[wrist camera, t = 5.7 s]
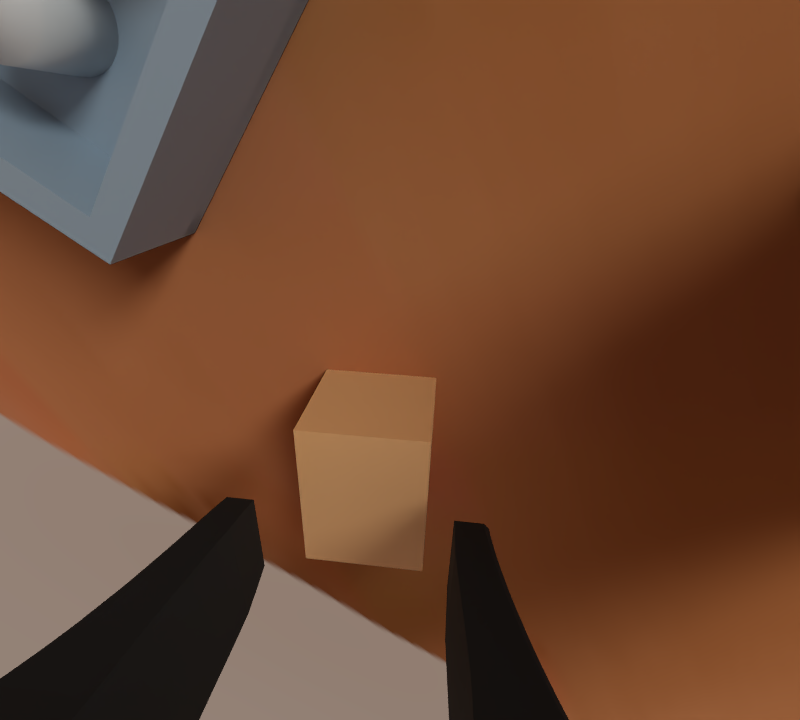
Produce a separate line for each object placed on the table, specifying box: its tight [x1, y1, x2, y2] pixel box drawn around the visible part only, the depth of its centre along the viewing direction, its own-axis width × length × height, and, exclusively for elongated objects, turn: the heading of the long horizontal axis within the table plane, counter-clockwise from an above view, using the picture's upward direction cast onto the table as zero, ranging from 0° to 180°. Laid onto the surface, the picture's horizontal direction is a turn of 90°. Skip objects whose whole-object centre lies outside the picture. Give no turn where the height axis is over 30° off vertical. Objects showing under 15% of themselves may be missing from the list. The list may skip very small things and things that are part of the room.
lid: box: [293, 369, 436, 571], centre depth 12 cm, size 12×8×4 cm
